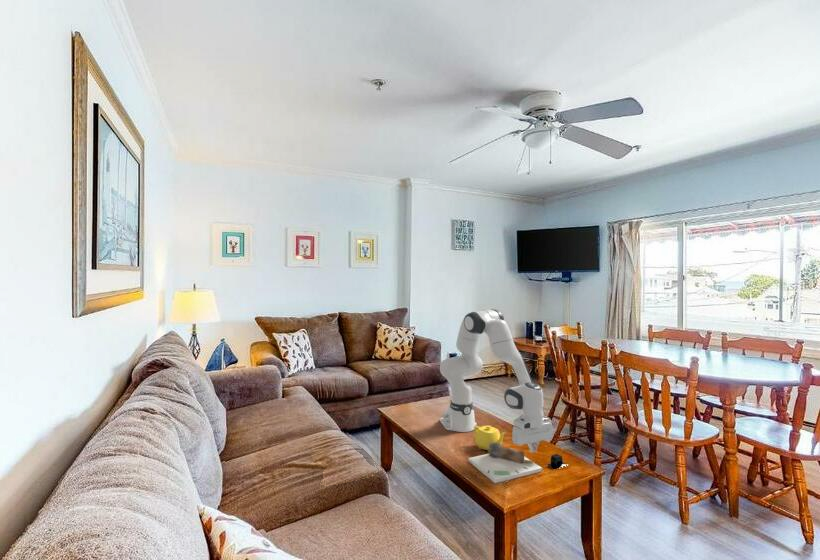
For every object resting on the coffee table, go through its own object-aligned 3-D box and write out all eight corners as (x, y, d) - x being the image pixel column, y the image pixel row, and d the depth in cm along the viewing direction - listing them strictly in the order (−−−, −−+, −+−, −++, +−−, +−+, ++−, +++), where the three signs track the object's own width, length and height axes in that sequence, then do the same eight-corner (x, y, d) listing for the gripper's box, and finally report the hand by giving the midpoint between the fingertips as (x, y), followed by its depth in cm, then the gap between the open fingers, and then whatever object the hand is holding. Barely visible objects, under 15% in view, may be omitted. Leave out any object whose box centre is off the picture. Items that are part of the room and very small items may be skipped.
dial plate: (468, 461, 173) (468, 457, 173) (512, 451, 183) (512, 448, 183) (494, 483, 155) (494, 479, 155) (542, 471, 164) (542, 467, 164)
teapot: (512, 450, 183) (512, 428, 183) (499, 458, 176) (499, 435, 176) (480, 439, 196) (480, 418, 196) (467, 446, 188) (467, 424, 188)
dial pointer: (487, 455, 174) (487, 445, 174) (491, 451, 179) (491, 441, 179) (531, 466, 164) (531, 456, 164) (534, 462, 168) (534, 451, 168)
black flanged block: (559, 459, 176) (559, 449, 176) (573, 466, 170) (573, 455, 170) (540, 466, 170) (540, 455, 170) (553, 473, 164) (553, 462, 164)
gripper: (546, 414, 179) (546, 444, 179) (510, 421, 171) (510, 452, 171) (556, 419, 173) (556, 449, 173) (519, 426, 165) (519, 458, 165)
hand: (533, 451), depth 172 cm, fingers closed
